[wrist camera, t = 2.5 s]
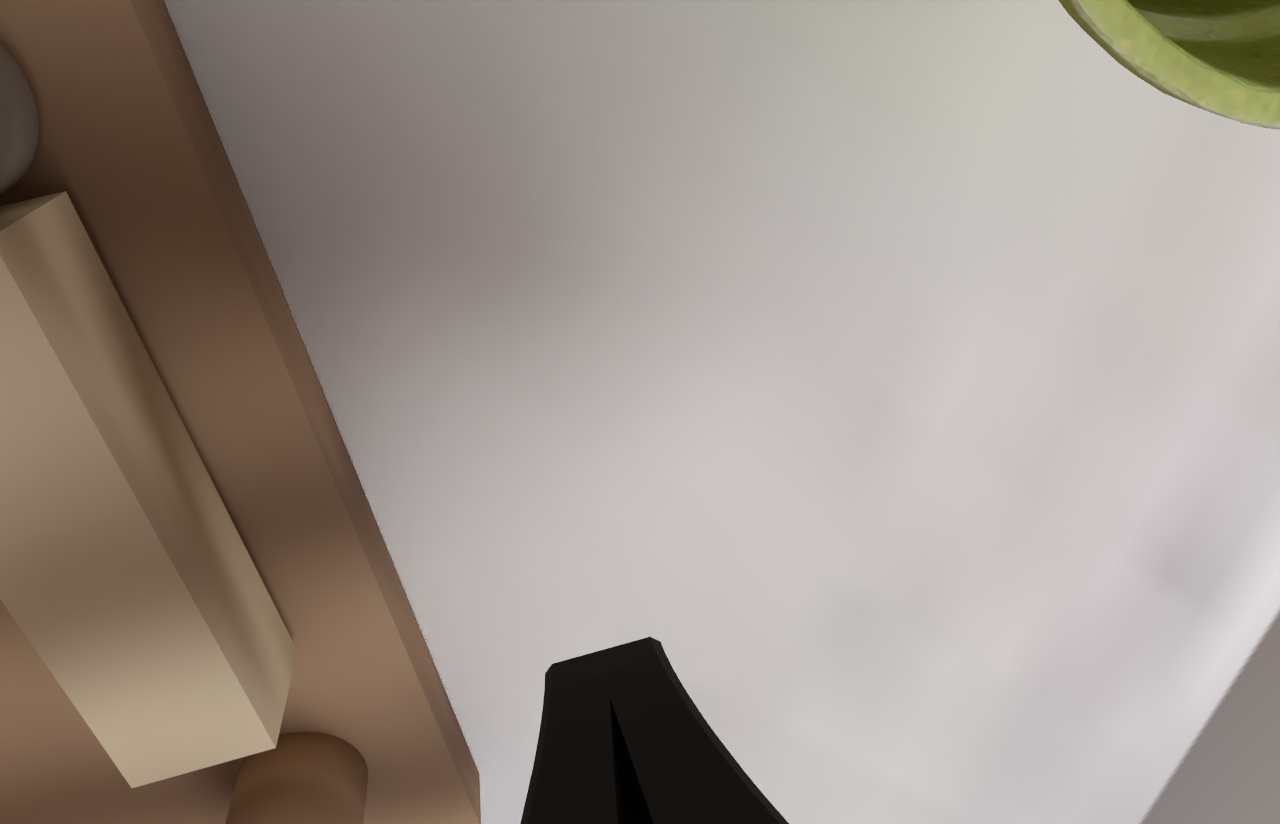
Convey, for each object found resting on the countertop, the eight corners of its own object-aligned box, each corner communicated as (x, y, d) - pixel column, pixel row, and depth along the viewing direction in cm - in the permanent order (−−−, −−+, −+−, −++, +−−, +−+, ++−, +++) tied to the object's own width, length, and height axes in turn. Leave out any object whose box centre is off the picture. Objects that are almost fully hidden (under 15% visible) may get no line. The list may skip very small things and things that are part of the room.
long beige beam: (-259, 13, 11) (-422, 27, 9) (-30, -34, 11) (-139, -32, 9) (161, 687, 17) (119, 791, 15) (307, 648, 17) (287, 744, 15)
